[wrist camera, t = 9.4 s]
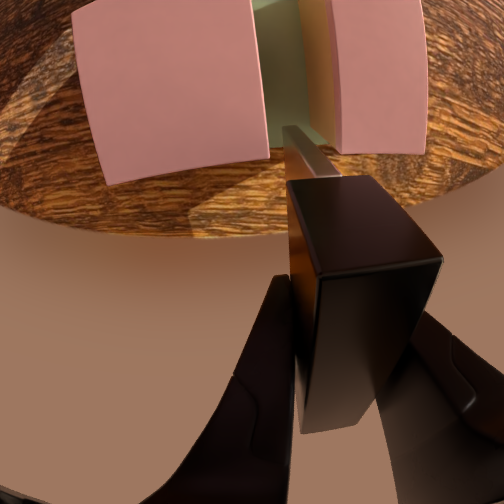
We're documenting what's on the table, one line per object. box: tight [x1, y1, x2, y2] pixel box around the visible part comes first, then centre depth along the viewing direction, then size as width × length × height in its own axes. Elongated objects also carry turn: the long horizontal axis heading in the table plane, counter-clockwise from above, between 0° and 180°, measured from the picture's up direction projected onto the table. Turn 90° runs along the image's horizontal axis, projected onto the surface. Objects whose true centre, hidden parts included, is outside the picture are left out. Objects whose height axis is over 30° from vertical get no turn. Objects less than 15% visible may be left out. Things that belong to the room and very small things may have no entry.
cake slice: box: [298, 0, 428, 155], centre depth 7 cm, size 6×3×4 cm, turn 6°
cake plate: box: [251, 0, 330, 148], centre depth 9 cm, size 8×12×1 cm, turn 96°
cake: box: [71, 0, 270, 186], centre depth 7 cm, size 6×5×4 cm
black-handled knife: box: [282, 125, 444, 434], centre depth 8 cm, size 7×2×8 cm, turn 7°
